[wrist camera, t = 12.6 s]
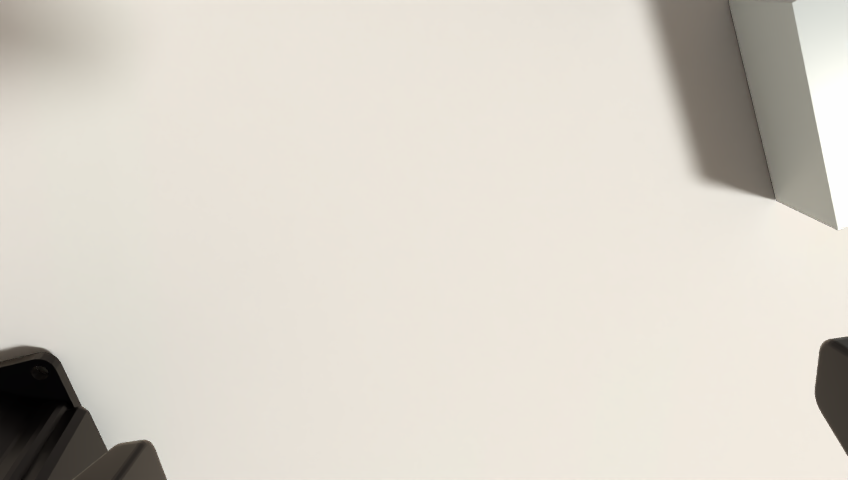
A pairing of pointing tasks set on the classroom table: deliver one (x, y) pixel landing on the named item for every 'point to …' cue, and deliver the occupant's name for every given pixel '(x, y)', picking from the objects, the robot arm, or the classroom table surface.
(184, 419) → the classroom table surface
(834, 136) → the rest block
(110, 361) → the classroom table surface
